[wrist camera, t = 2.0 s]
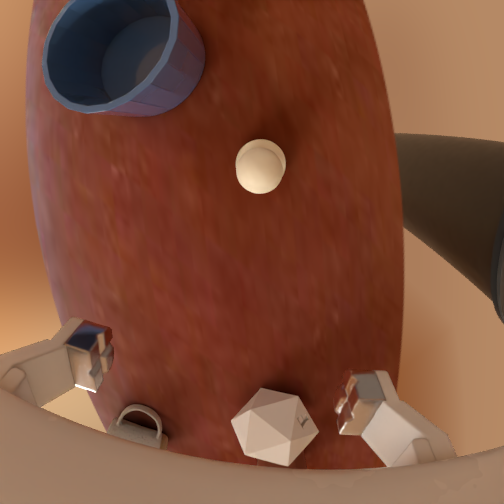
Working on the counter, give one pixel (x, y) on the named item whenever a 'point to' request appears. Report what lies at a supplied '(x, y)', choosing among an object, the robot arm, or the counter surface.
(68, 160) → the counter surface
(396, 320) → the counter surface
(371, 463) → the counter surface
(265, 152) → the ivory pawn
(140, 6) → the cup
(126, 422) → the ceramic mug
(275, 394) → the die
